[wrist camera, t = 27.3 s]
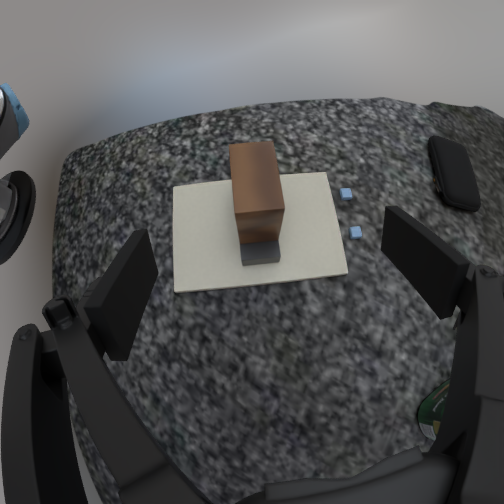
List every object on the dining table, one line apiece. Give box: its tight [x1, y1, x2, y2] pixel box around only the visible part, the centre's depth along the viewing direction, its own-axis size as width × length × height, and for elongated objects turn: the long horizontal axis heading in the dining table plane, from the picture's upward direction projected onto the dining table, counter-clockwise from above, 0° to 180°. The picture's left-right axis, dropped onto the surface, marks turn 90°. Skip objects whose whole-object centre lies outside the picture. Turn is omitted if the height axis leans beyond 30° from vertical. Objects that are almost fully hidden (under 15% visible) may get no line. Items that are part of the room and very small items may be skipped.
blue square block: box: [349, 226, 362, 239], centre depth 37 cm, size 2×2×1 cm
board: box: [173, 172, 348, 293], centre depth 37 cm, size 22×15×1 cm
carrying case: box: [428, 136, 481, 212], centre depth 39 cm, size 11×3×15 cm
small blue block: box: [339, 188, 352, 200], centre depth 39 cm, size 2×2×1 cm
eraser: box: [229, 141, 285, 266], centre depth 32 cm, size 5×12×11 cm, turn 6°
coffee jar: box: [418, 379, 450, 440], centre depth 20 cm, size 10×8×19 cm
